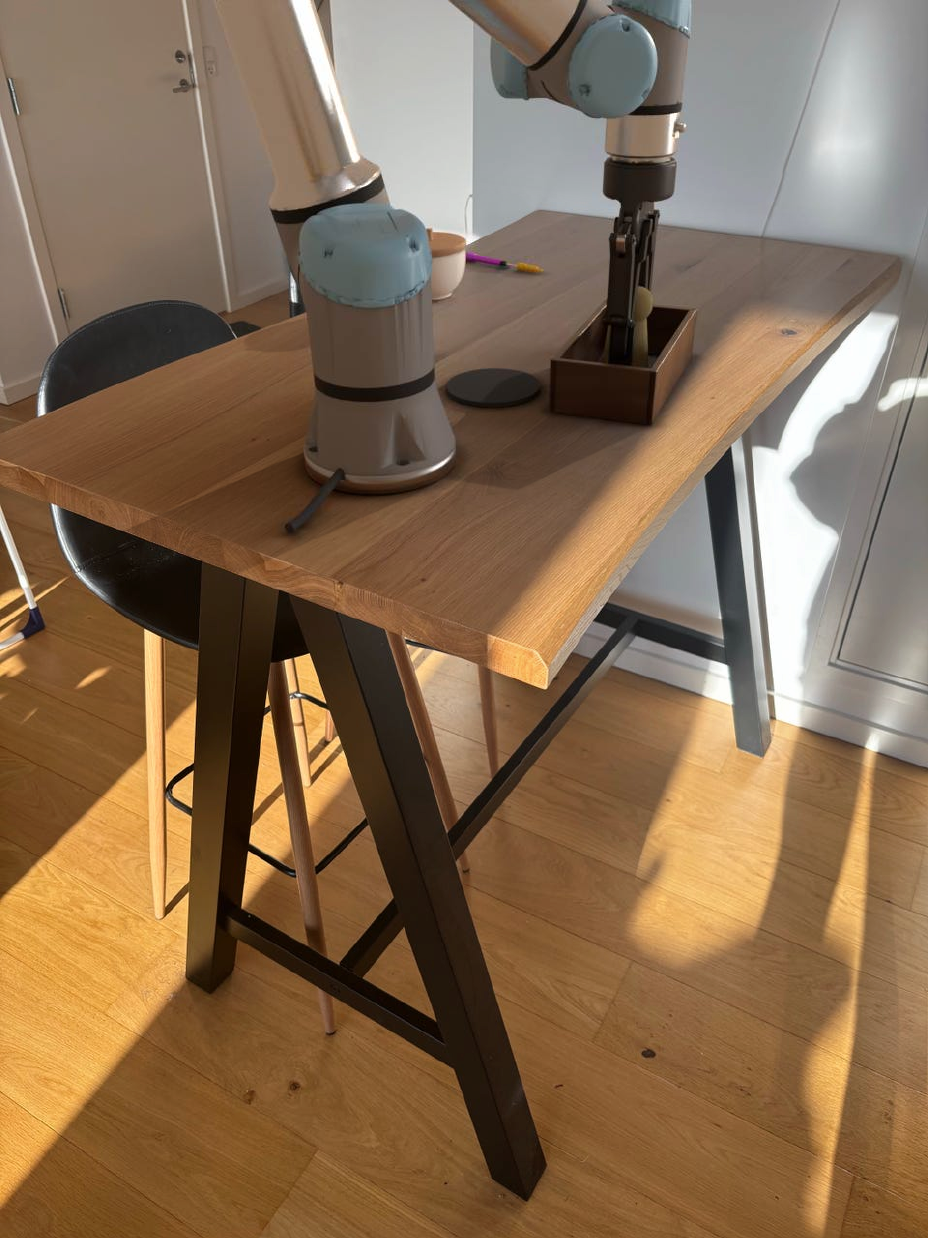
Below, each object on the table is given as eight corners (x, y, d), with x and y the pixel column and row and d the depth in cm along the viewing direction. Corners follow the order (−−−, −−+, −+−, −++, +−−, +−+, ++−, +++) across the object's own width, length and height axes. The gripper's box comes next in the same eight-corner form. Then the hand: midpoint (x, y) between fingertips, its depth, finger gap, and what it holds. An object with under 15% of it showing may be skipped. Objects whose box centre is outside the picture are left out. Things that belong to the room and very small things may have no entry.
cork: (625, 395, 112) (633, 298, 106) (587, 381, 116) (592, 287, 110) (659, 382, 116) (669, 287, 109) (621, 369, 119) (628, 276, 113)
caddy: (651, 425, 106) (656, 371, 102) (548, 411, 109) (550, 359, 106) (691, 356, 123) (697, 308, 119) (601, 346, 126) (604, 299, 123)
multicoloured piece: (458, 259, 162) (539, 274, 154) (459, 251, 162) (540, 266, 154) (468, 259, 164) (548, 274, 156) (469, 252, 164) (549, 266, 156)
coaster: (522, 412, 109) (522, 407, 109) (431, 400, 113) (431, 395, 112) (552, 378, 118) (552, 373, 117) (466, 368, 121) (466, 363, 121)
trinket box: (442, 308, 141) (440, 240, 136) (381, 298, 146) (377, 232, 140) (480, 289, 149) (479, 224, 143) (421, 280, 153) (418, 217, 148)
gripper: (658, 173, 94) (638, 403, 108) (692, 144, 107) (670, 353, 121) (583, 169, 97) (572, 395, 110) (625, 141, 110) (611, 346, 123)
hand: (624, 372), depth 115 cm, fingers closed on cork, 4 cm apart
